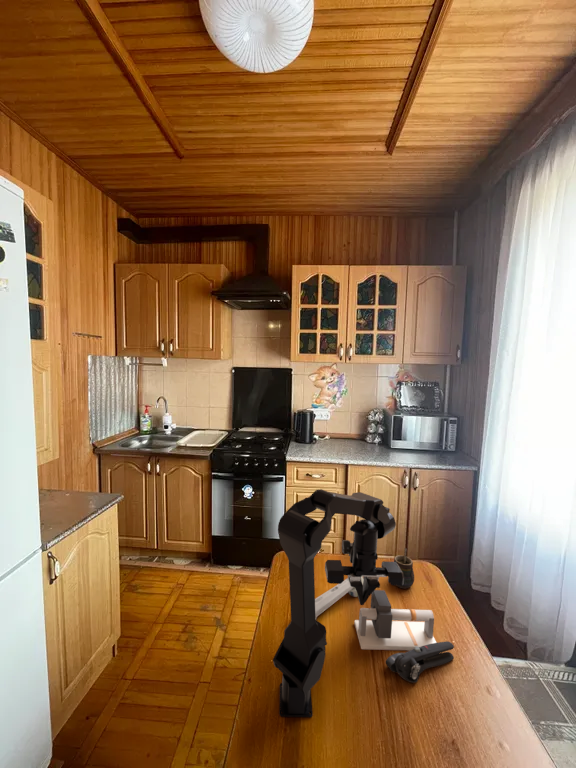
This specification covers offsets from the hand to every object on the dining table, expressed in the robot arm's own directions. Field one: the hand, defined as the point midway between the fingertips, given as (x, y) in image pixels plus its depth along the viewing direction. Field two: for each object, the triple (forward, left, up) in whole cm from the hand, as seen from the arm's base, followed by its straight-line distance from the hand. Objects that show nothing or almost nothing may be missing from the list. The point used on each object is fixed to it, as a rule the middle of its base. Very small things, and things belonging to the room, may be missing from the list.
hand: (361, 603), depth 87 cm
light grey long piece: (+11, +5, -9) cm, 15 cm away
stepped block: (0, -5, -6) cm, 8 cm away
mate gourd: (+21, -18, -9) cm, 29 cm away
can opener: (-8, -13, -9) cm, 18 cm away
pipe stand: (0, -9, -9) cm, 13 cm away
